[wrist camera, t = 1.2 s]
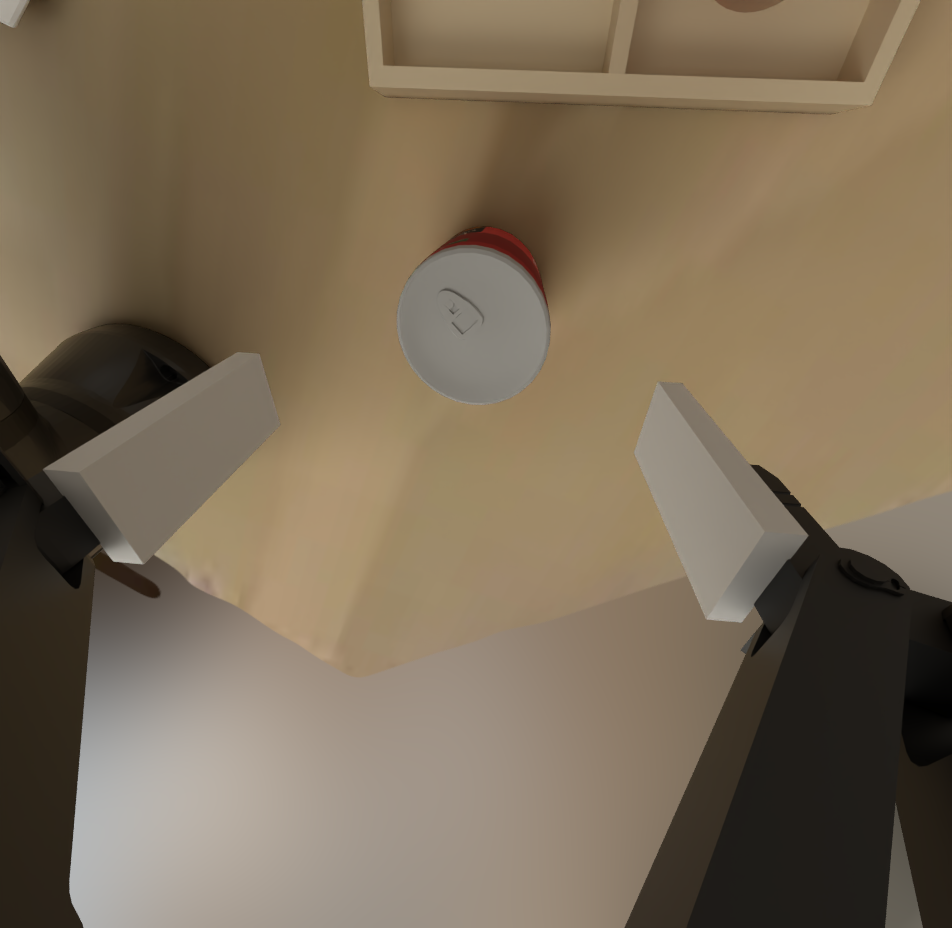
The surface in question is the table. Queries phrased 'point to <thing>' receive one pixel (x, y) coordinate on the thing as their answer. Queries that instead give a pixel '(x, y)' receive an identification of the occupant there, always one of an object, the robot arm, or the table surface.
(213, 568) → the table surface
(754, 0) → the jar
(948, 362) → the table surface
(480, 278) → the canned food
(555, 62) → the divided tray
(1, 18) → the plate
